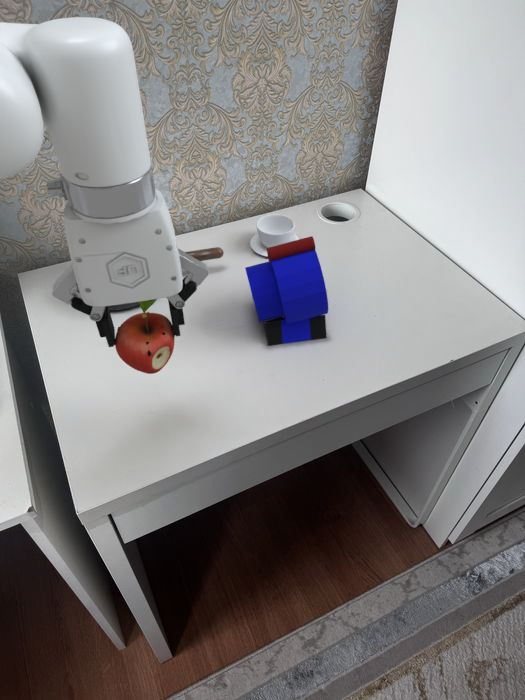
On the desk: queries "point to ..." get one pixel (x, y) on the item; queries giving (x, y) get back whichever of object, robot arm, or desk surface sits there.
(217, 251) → the pan handle
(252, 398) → the desk surface
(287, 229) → the teacup
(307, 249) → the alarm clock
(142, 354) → the apple
